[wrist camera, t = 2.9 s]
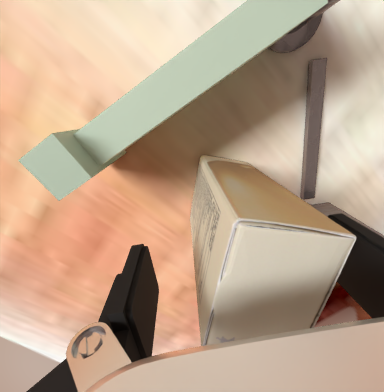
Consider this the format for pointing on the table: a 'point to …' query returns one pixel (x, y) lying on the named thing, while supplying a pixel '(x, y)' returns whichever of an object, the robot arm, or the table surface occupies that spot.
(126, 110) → the gate
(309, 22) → the dark grey rounded knob
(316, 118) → the latch post
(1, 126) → the table surface
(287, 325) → the skincare box
